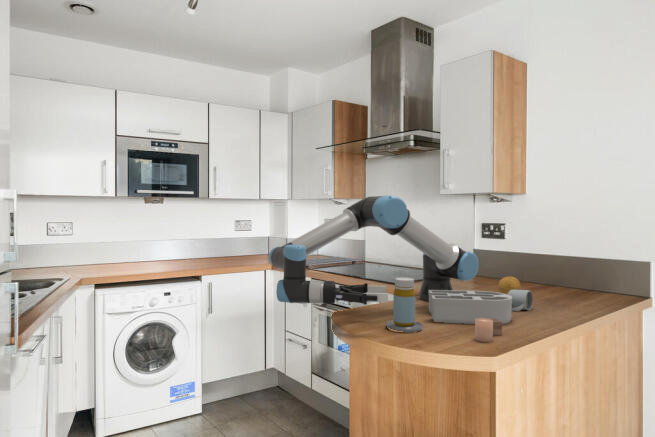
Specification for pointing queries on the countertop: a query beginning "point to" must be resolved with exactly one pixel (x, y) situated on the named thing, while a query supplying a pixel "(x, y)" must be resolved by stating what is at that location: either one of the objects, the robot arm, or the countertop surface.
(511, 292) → the ceramic mug
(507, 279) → the potato
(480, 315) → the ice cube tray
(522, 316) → the countertop surface
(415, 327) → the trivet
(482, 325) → the pink rounded block
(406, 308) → the bottle
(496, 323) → the walnut block
